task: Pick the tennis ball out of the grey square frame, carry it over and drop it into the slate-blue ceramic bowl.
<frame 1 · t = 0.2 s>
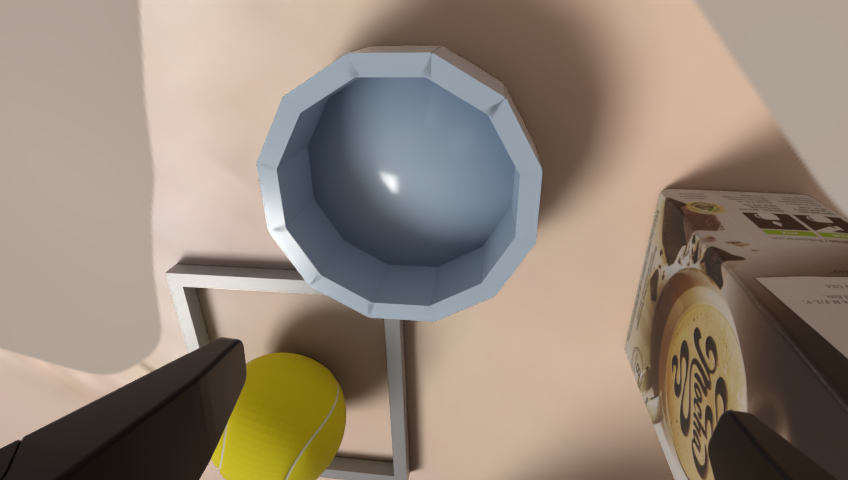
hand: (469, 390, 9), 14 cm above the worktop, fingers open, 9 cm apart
grey square frame: (302, 377, 29), on the worktop
bowl: (411, 172, 22), on the worktop
tennis ball: (304, 374, 29), resting in grey square frame
coffee box: (703, 278, 23), on the worktop
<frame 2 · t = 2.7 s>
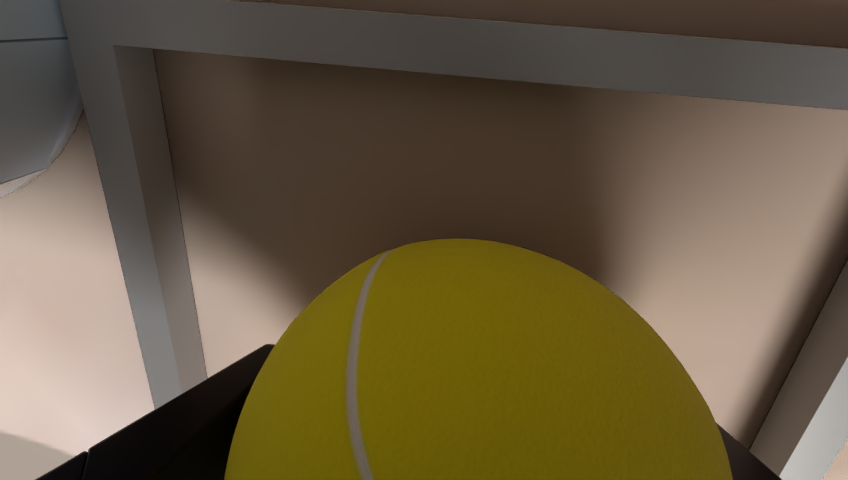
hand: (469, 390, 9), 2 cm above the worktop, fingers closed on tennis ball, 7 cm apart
grey square frame: (474, 332, 11), on the worktop
tennis ball: (474, 327, 11), resting in grey square frame, touching gripper
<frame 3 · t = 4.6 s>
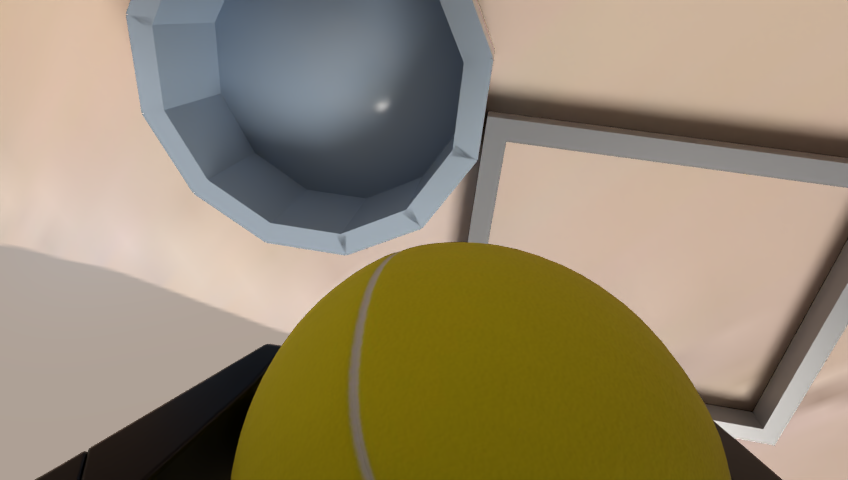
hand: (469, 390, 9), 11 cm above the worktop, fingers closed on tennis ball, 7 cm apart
grey square frame: (640, 286, 20), on the worktop
bowl: (343, 72, 18), on the worktop
tennis ball: (478, 329, 11), point 9 cm above the worktop, touching gripper
when the fingers open (5 cm above the worktop, at t = 6.7 s): tennis ball drops 3 cm, resting on bowl.
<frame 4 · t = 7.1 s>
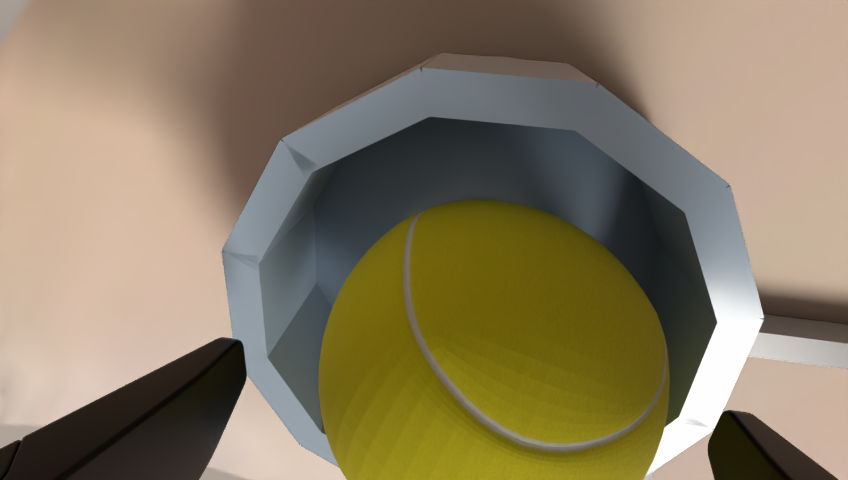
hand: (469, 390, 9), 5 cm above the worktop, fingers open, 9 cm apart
bowl: (477, 257, 14), on the worktop
tennis ball: (488, 272, 14), resting on bowl
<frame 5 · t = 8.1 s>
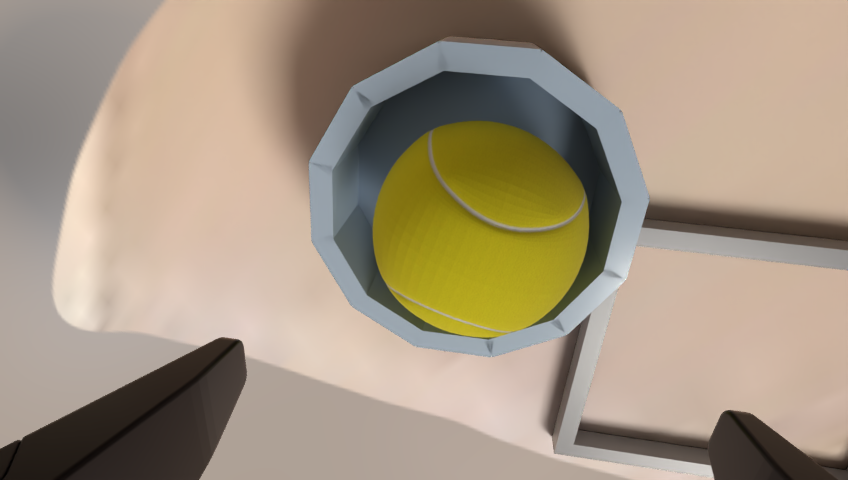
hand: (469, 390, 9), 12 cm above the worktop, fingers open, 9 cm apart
grey square frame: (744, 362, 21), on the worktop
bowl: (473, 183, 20), on the worktop
tennis ball: (481, 191, 19), resting on bowl
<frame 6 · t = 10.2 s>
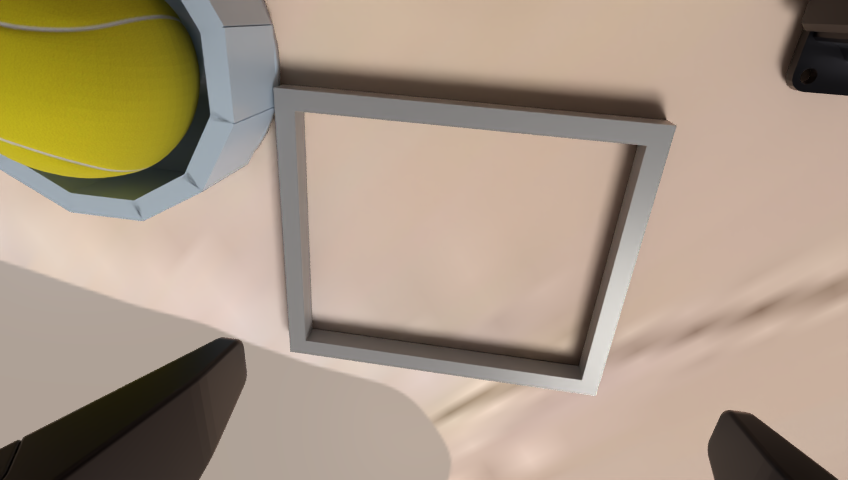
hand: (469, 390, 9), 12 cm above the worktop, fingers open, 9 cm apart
grey square frame: (452, 247, 21), on the worktop
bowl: (148, 53, 19), on the worktop
tennis ball: (153, 60, 19), resting on bowl
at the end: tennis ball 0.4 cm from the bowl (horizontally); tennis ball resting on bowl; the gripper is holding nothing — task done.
